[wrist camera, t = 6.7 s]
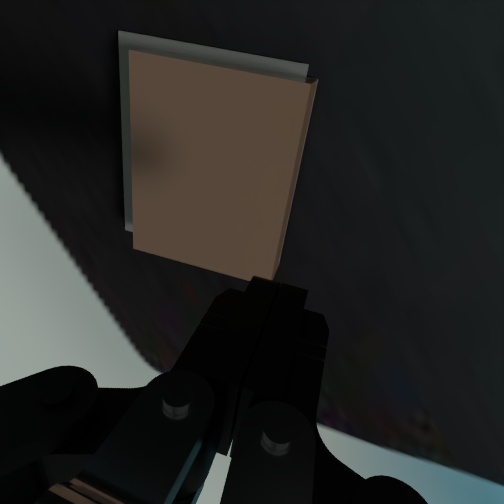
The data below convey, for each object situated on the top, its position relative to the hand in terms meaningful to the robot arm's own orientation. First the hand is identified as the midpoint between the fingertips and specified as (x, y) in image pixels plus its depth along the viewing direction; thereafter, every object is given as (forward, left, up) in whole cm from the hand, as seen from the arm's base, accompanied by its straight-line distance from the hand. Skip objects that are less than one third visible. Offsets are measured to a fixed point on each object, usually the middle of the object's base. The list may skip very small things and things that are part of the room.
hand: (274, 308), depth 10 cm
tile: (0, -1, -9) cm, 9 cm away
